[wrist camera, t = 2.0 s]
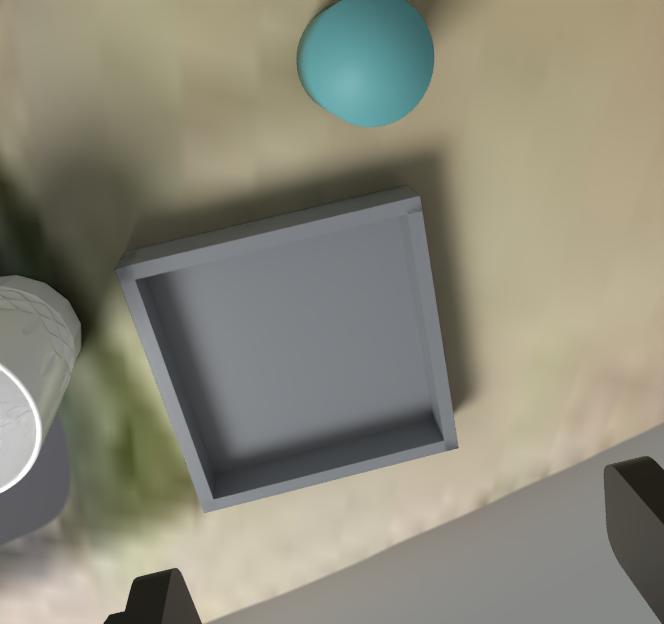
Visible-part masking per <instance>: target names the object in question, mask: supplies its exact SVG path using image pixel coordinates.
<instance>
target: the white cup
mask: <svg viewBox="0 0 664 624" xmlns="http://www.w3.org/2000/svg"><path fill="white" fill-rule="evenodd" d="M80 350H81V323H80V321H79V319H78V317H77V315H76V314H75V312H74V310H73V308H72V306H71V304H70V302H69V301H68V300H67V299H66V298H64V297H63V296H62V295H61V294H59V293H58V292H57V291H55V290H54V289H53V288H52V287H50V286H49V285H48V284H46V283H44V282H40V281H37V280H33V279H30V278H26V277H23V276H19V275H12V276H3V277H0V493H1V492H3V491H5V490H6V489H9V488H10V487H12V486H13V485H14V484H16V483H17V482H18V481H20V480H21V479H22V478H23V477H24V476H25V475H26V473H27V472H28V471H29V470H30V469H31V467H32V466H33V464H34V462H35V460H36V458H37V456H38V454H39V452H40V449H41V447H42V445H43V442H44V440H45V438H46V435H47V433H48V431H49V429H50V427H51V424H52V422H53V419H54V418H55V415H56V413H57V411H58V409H59V406H60V404H61V401H62V399H63V396H64V393H65V390H66V388H67V386H68V383H69V380H70V378H71V374H72V370H73V365H74V363H75V361H76V359H77V357H78V355H79V352H80Z"/></svg>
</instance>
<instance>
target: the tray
mask: <svg viewBox="0 0 664 624" xmlns="http://www.w3.org/2000/svg"><path fill="white" fill-rule="evenodd" d="M114 270H115V273H116V275H117V278H118V281H119V283H120V286H121V289H122V292H123V294H124V297H125V300H126V302H127V305H128V308H129V310H130V313H131V316H132V319H133V321H134V324H135V327H136V329H137V332H138V335H139V338H140V340H141V343H142V346H143V348H144V351H145V354H146V357H147V359H148V362H149V365H150V367H151V370H152V373H153V376H154V378H155V381H156V384H157V386H158V389H159V392H160V395H161V397H162V400H163V403H164V405H165V408H166V411H167V413H168V416H169V419H170V422H171V424H172V427H173V430H174V432H175V435H176V438H177V441H178V443H179V446H180V449H181V451H182V454H183V457H184V460H185V462H186V465H187V468H188V470H189V473H190V476H191V479H192V481H193V484H194V487H195V489H196V492H197V495H198V498H199V500H200V503H201V506H202V508H203V511H204V513H207V512H211V511H215V510H219V509H223V508H227V507H230V506H234V505H238V504H242V503H246V502H250V501H254V500H258V499H262V498H266V497H269V496H273V495H277V494H281V493H285V492H289V491H293V490H297V489H301V488H304V487H308V486H312V485H316V484H320V483H324V482H328V481H332V480H336V479H340V478H343V477H347V476H351V475H355V474H359V473H363V472H367V471H371V470H375V469H379V468H382V467H386V466H390V465H394V464H398V463H402V462H406V461H410V460H414V459H417V458H421V457H425V456H429V455H433V454H437V453H441V452H445V451H449V450H453V449H456V448H459V447H458V441H457V434H456V428H455V421H454V415H453V408H452V402H451V395H450V389H449V382H448V376H447V369H446V362H445V356H444V349H443V343H442V336H441V330H440V323H439V317H438V310H437V304H436V297H435V291H434V284H433V278H432V271H431V265H430V258H429V251H428V245H427V238H426V232H425V225H424V219H423V212H422V206H421V199H420V196H419V195H418V194H417V193H416V192H414V191H413V190H412V189H410V188H409V187H408V186H407V185H404V186H400V187H396V188H392V189H388V190H383V191H379V192H375V193H371V194H367V195H362V196H358V197H354V198H350V199H346V200H341V201H337V202H333V203H329V204H325V205H320V206H316V207H312V208H308V209H304V210H299V211H295V212H291V213H287V214H283V215H278V216H274V217H270V218H266V219H262V220H257V221H253V222H249V223H245V224H241V225H236V226H232V227H228V228H224V229H220V230H215V231H211V232H207V233H203V234H199V235H194V236H190V237H186V238H182V239H178V240H173V241H169V242H165V243H161V244H157V245H152V246H148V247H144V248H140V249H136V250H131V251H127V252H124V254H123V256H122V257H121V259H120V260H119V262H118V264H117V265H116V267H115V269H114Z"/></svg>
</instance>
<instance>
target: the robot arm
mask: <svg viewBox="0 0 664 624" xmlns="http://www.w3.org/2000/svg"><path fill="white" fill-rule="evenodd" d="M604 489H605V507H606V525H607V533H608V538H609V541H610V544H611V547H612V550H613V552H614V554H615V556H616V558H617V560H618V562H619V564H620V565H621V567H622V568H623V569H624V571H625V572H626V574H627V575H628V576H629V578H630V579H631V581H632V582H633V583H634V585H635V586H636V588H637V589H638V590H639V592H640V594H641V595H642V596H643V598H644V599H645V601H646V602H647V603H648V605H649V606H650V608H651V609H652V610H653V612H654V613H655V615H656V616H657V618H658V619H659V620H660V622H661V623H662V624H664V470H663V469H662V468H661V467H660V466H659V465H658V463H657V462H656V461H654V460H653V459H652V458H650V457H648V456H643V457H639V458H635V459H631V460H627V461H623V462H619V463H614V464H610V465H607V466H606V467H605V469H604ZM104 624H202V623H201V620H200V618H199V615H198V613H197V610H196V608H195V605H194V603H193V601H192V598H191V596H190V593H189V591H188V588H187V586H186V583H185V581H184V578H183V576H182V574H181V572H180V571H179V569H177V568H173V569H169V570H165V571H161V572H156V573H152V574H148V575H144V576H140V577H137V578H135V579H134V581H133V583H132V586H131V589H130V593H129V597H128V601H127V605H126V609H125V611H124V612H119V613H115V614H111V615H109V616H108V618H107V619H106V621H105V622H104Z"/></svg>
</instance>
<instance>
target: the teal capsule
mask: <svg viewBox="0 0 664 624" xmlns="http://www.w3.org/2000/svg"><path fill="white" fill-rule="evenodd" d="M433 67H434V47H433V42H432V38H431V35H430V32H429V29H428V27H427V25H426V23H425V21H424V20H423V18H422V16H421V15H420V14H419V13H418V11H417V10H416V9H415V8H414V7H413V6H412V5H410V4H409V3H408V2H406V1H405V0H341V1H340V2H338V3H336V4H335V5H333V6H331V7H330V8H328V9H326V10H325V11H323V12H322V13H320V14H319V15H317V16H316V17H315V18H314V19H313V20H312V21H311V22H310V23H309V24H308V26H307V27H306V29H305V30H304V32H303V34H302V36H301V39H300V42H299V45H298V49H297V70H298V75H299V78H300V81H301V83H302V86H303V87H304V89H305V91H306V92H307V94H308V95H309V96H310V97H311V98H312V100H313V101H314V102H316V103H317V104H318V105H320V106H321V107H323V108H324V109H326V110H327V111H329V112H331V113H332V114H334V115H336V116H337V117H339V118H340V119H342V120H344V121H346V122H348V123H351V124H353V125H357V126H362V127H379V126H384V125H387V124H391V123H393V122H395V121H397V120H399V119H401V118H402V117H404V116H406V115H407V114H408V113H409V112H410V111H412V110H413V109H414V107H415V106H416V105H417V104H418V103H419V102H420V100H421V99H422V97H423V96H424V94H425V92H426V90H427V88H428V86H429V83H430V80H431V77H432V73H433Z"/></svg>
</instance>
